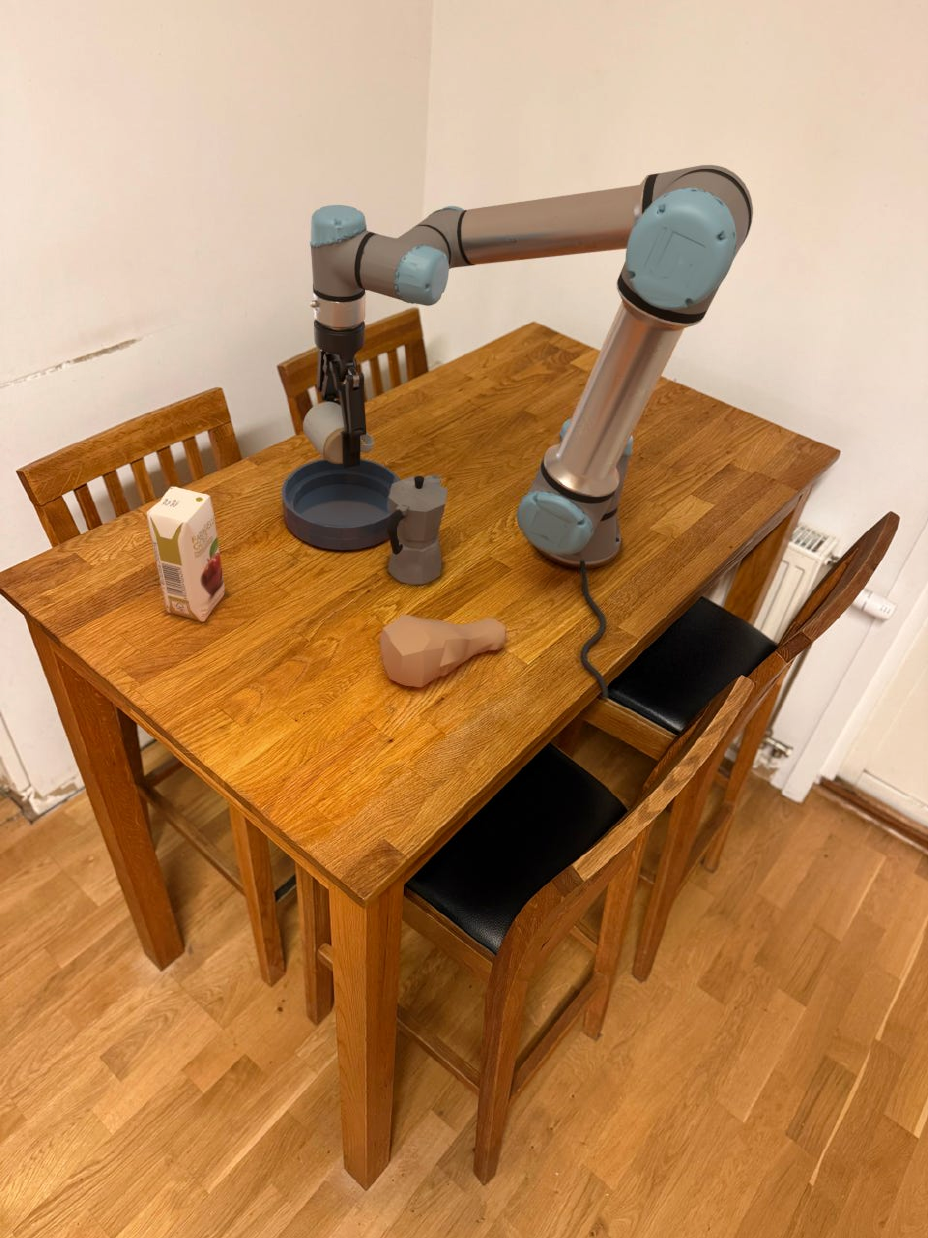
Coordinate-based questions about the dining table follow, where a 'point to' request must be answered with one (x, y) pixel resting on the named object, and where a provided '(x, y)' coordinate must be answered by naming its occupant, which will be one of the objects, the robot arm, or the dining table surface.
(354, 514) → the bowl
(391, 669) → the raw chicken drumstick
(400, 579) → the coffeepot
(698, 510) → the dining table surface
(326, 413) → the ceramic mug
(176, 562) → the juice carton
